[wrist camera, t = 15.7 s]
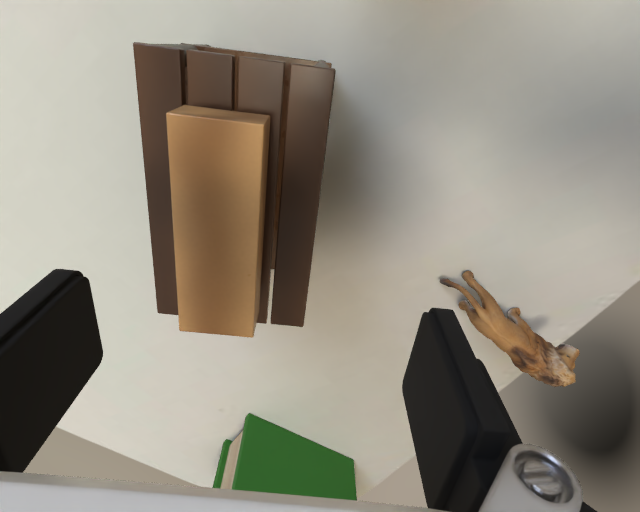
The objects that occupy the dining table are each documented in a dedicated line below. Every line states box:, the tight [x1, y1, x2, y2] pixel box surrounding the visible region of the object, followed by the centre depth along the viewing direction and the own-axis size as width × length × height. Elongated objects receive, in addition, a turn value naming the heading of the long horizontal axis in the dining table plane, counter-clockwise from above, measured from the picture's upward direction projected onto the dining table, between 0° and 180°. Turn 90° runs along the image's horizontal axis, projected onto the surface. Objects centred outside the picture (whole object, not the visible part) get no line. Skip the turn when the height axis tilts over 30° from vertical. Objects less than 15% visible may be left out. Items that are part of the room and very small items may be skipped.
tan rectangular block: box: [166, 105, 270, 337], centre depth 24 cm, size 5×13×5 cm, turn 173°
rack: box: [133, 42, 335, 327], centre depth 31 cm, size 11×18×13 cm, turn 173°
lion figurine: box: [440, 271, 579, 387], centre depth 41 cm, size 15×5×9 cm, turn 60°
